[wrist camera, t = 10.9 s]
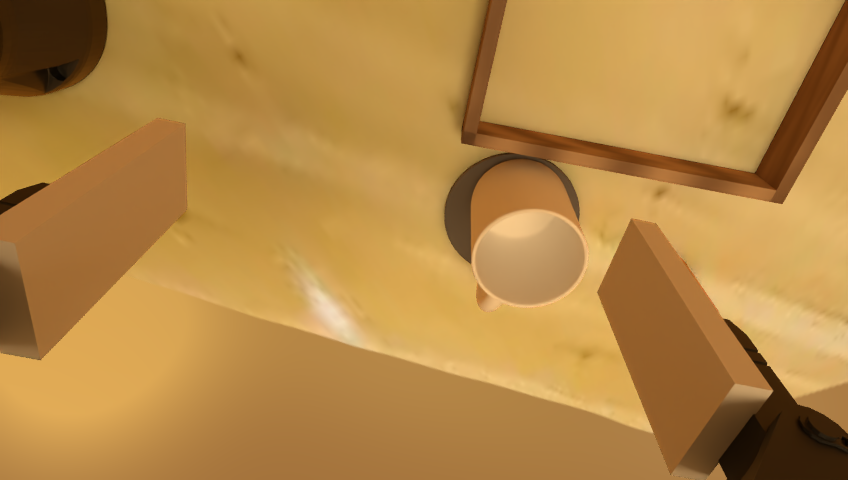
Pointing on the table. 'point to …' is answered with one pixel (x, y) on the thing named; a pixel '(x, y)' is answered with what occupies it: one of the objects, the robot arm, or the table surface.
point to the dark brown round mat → (463, 191)
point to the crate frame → (785, 158)
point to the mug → (524, 237)
